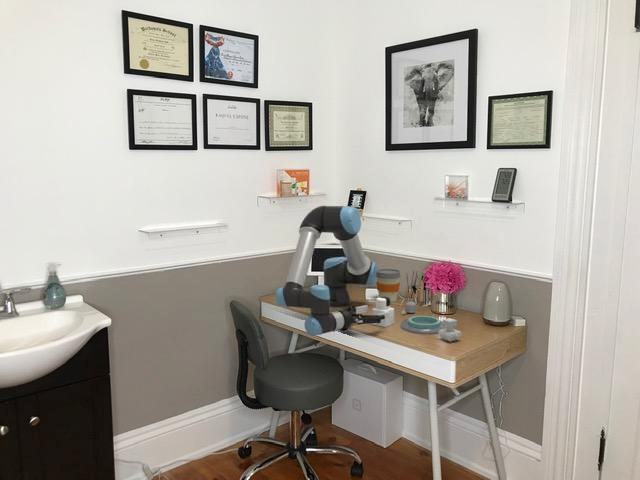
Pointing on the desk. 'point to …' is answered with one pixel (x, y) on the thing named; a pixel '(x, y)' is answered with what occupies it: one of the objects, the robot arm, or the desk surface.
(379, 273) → the reusable coffee cup
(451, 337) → the stamp
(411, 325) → the ring dish
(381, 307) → the medicine bottle
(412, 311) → the reed diffuser
